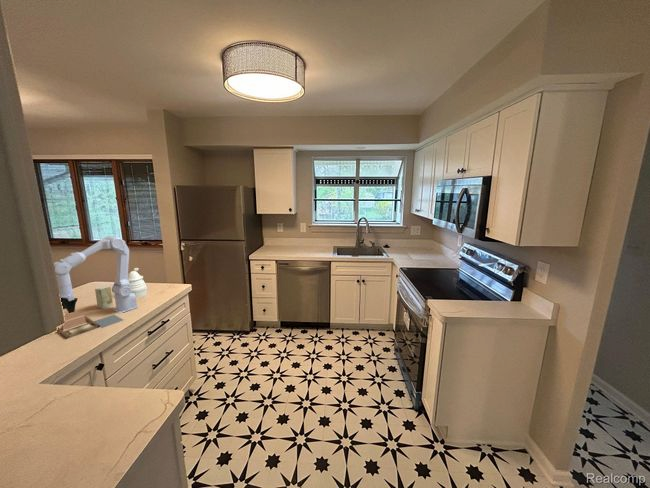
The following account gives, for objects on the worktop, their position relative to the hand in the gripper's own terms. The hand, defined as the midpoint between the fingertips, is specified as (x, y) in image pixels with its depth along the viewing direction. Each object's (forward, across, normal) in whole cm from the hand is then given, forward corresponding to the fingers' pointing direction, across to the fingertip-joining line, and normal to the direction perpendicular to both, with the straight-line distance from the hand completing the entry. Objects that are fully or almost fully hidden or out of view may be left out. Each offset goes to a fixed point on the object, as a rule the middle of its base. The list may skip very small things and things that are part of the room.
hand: (68, 310), depth 135 cm
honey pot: (+10, -19, +39) cm, 45 cm away
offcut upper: (+9, +9, +1) cm, 13 cm away
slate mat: (+10, +9, +12) cm, 18 cm away
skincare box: (+10, -14, +20) cm, 26 cm away
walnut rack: (+9, +4, +1) cm, 10 cm away
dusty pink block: (+10, 0, +1) cm, 10 cm away
